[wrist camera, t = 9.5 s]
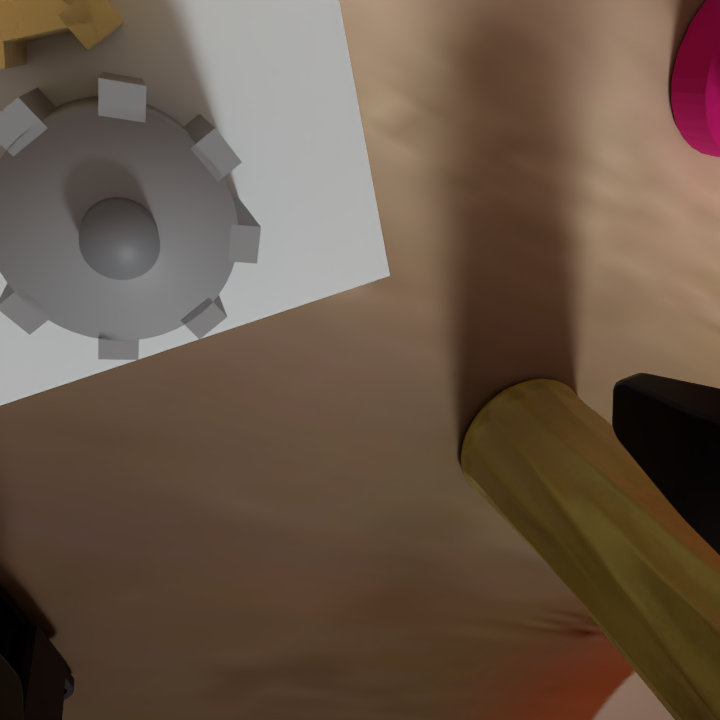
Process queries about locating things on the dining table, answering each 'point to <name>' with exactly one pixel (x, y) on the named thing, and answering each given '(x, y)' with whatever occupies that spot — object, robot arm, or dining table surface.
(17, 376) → the gear board
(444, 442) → the dining table surface
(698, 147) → the pepper mill
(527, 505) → the vase
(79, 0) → the gear
